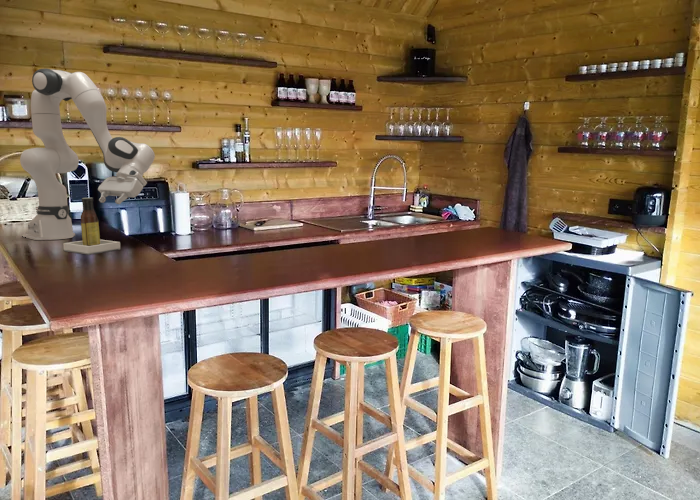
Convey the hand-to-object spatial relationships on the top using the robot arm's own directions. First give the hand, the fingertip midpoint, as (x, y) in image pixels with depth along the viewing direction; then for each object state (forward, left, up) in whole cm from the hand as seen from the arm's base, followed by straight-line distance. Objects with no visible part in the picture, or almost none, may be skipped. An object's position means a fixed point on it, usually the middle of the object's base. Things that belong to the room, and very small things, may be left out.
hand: (109, 202), depth 230 cm
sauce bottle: (0, -9, -18) cm, 20 cm away
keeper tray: (0, -9, -18) cm, 20 cm away
